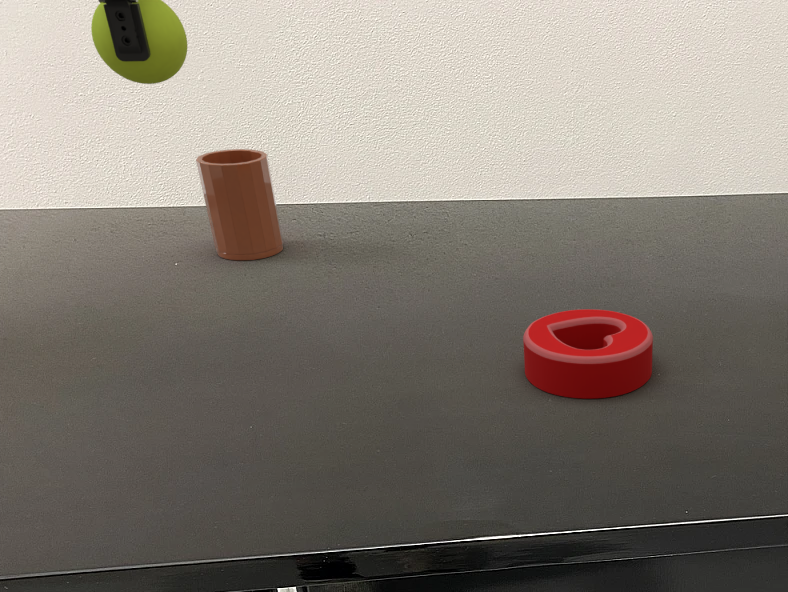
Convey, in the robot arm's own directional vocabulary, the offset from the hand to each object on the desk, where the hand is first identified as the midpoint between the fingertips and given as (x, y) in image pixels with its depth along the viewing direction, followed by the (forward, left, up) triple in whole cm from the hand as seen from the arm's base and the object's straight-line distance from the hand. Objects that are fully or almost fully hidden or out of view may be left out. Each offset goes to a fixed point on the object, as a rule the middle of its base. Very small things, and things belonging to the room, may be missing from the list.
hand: (143, 52), depth 73 cm
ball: (0, 0, -2) cm, 2 cm away
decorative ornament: (+30, -20, -20) cm, 41 cm away
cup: (+3, +14, -20) cm, 24 cm away
